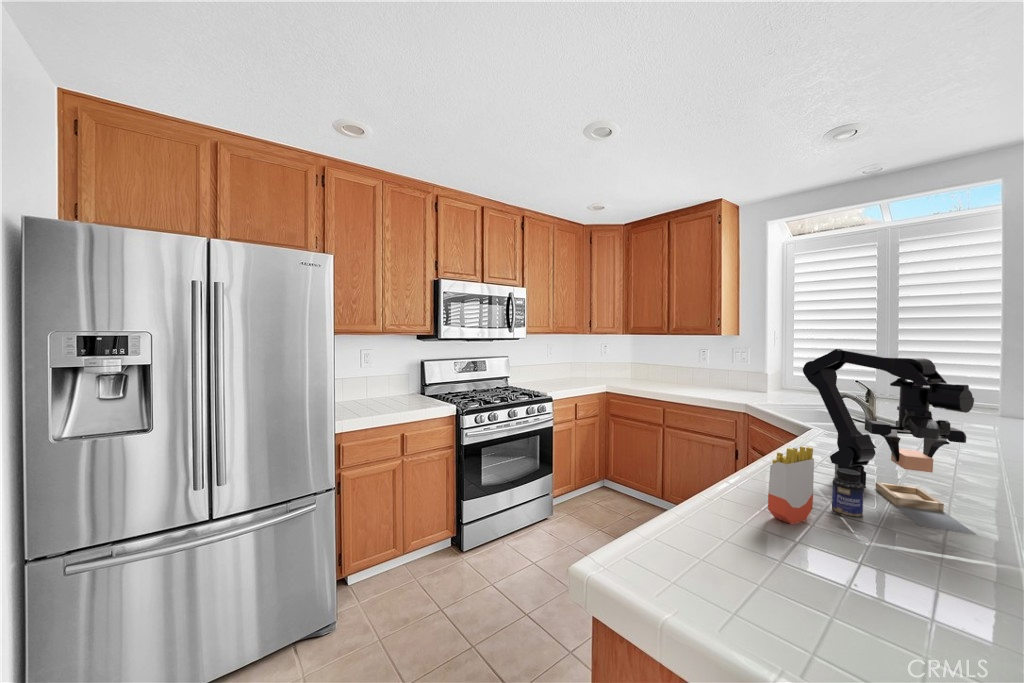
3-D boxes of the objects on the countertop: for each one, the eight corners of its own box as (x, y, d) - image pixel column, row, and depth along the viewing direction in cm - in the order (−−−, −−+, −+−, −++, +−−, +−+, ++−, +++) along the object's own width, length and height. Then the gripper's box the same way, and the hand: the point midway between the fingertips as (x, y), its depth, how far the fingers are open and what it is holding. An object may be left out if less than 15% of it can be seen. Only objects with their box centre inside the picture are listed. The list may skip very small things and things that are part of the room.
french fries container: (765, 518, 99) (767, 445, 99) (793, 510, 104) (795, 441, 103) (785, 526, 95) (787, 450, 95) (812, 518, 100) (814, 446, 99)
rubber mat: (918, 528, 95) (918, 525, 95) (873, 490, 118) (873, 488, 118) (977, 537, 91) (977, 534, 91) (918, 496, 114) (918, 494, 114)
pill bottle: (834, 516, 101) (835, 472, 101) (828, 507, 106) (830, 465, 106) (866, 522, 98) (867, 477, 98) (859, 512, 103) (860, 469, 103)
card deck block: (891, 460, 113) (891, 447, 113) (917, 463, 111) (917, 450, 111) (904, 469, 106) (905, 456, 106) (932, 472, 104) (933, 459, 103)
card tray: (895, 505, 106) (895, 497, 106) (875, 489, 117) (875, 482, 117) (943, 512, 103) (943, 503, 103) (918, 494, 114) (918, 487, 114)
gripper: (881, 406, 104) (878, 466, 105) (982, 414, 97) (978, 478, 97) (865, 400, 114) (862, 454, 115) (954, 406, 107) (951, 464, 107)
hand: (911, 462), depth 108 cm, fingers closed on card deck block, 5 cm apart
